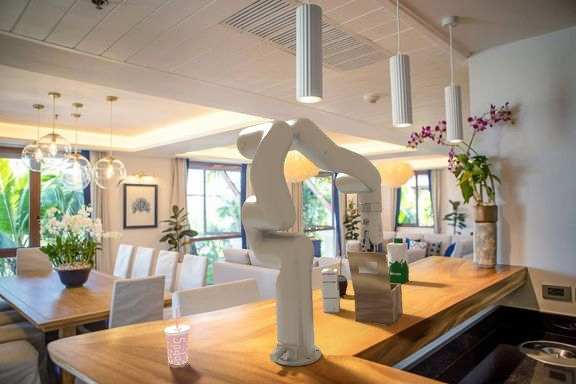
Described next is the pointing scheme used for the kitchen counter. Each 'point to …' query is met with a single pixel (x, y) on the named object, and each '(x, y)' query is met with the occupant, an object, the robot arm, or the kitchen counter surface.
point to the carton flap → (369, 272)
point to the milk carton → (398, 261)
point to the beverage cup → (177, 342)
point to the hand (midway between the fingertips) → (372, 265)
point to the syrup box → (330, 290)
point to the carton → (379, 306)
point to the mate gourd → (342, 282)
